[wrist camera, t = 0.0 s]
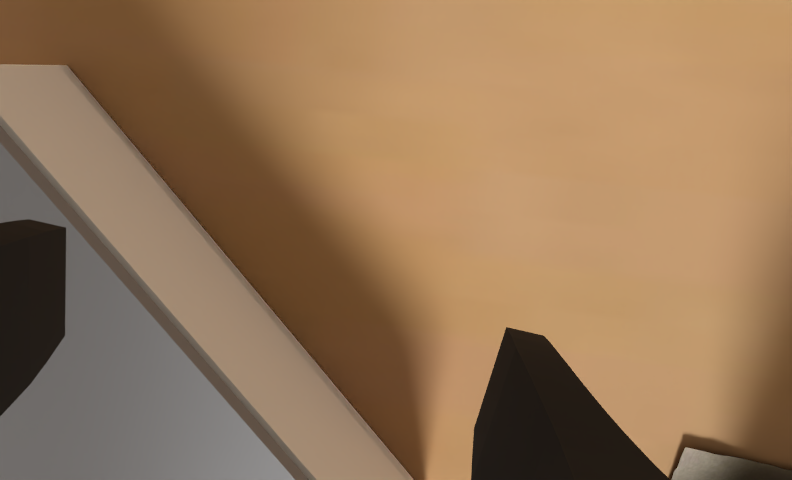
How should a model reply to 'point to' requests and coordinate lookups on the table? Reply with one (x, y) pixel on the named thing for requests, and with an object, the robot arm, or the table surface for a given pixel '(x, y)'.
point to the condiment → (724, 468)
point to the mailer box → (187, 274)
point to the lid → (119, 375)
